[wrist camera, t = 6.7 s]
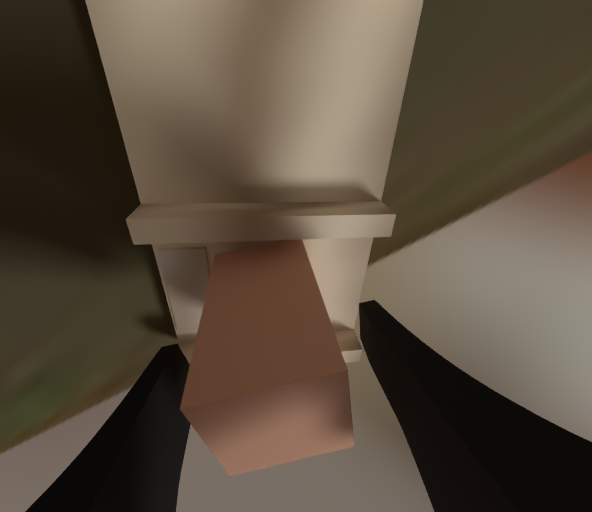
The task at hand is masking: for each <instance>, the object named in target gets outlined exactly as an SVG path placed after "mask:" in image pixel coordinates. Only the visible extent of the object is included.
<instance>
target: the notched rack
mask: <svg viewBox="0 0 592 512" xmlns="http://www.w3.org/2000/svg"><path fill="white" fill-rule="evenodd" d="M85 1H86V5H87V8H88V12H89V16H90V19H91V23H92V27H93V30H94V34H95V38H96V41H97V45H98V49H99V52H100V56H101V60H102V63H103V67H104V71H105V74H106V78H107V82H108V85H109V89H110V93H111V96H112V100H113V104H114V107H115V111H116V115H117V118H118V122H119V126H120V129H121V133H122V137H123V140H124V144H125V148H126V151H127V155H128V159H129V162H130V166H131V170H132V173H133V177H134V181H135V184H136V188H137V192H138V195H139V199H140V203H141V204H140V205H139V206H138V207H137V208H136V209H135V210H134V211H133V212H132V213H131V214H130V215H129V216H128V217H127V218H126V222H127V225H128V229H129V232H130V235H131V238H132V241H133V245H139V244H152V247H153V251H154V254H155V258H156V262H157V265H158V269H159V273H160V276H161V280H162V284H163V287H164V291H165V295H166V298H167V302H168V306H169V309H170V313H171V317H172V320H173V324H174V328H175V331H176V335H177V339H178V342H179V347H180V349H181V350H182V352H183V354H184V355H185V357H186V359H187V360H188V362H189V364H190V362H191V358H192V354H193V349H194V345H195V340H196V336H197V332H198V327H199V323H200V318H201V314H202V309H203V305H204V301H205V296H206V292H207V287H208V283H209V279H210V274H211V270H212V265H213V261H214V257H215V255H216V254H220V253H225V252H230V251H235V250H239V249H244V248H249V247H254V246H258V245H263V244H268V243H273V242H277V241H282V240H299V239H302V241H303V244H304V246H305V249H306V252H307V255H308V258H309V261H310V264H311V267H312V269H313V272H314V275H315V278H316V281H317V284H318V287H319V289H320V292H321V295H322V298H323V301H324V304H325V307H326V310H327V312H328V315H329V318H330V321H331V324H332V327H333V330H334V332H335V335H336V338H337V341H338V344H339V347H340V350H341V353H342V355H343V358H344V361H345V363H348V362H358V361H360V357H361V354H362V347H361V345H360V343H359V341H358V338H357V336H356V334H355V331H354V326H355V321H356V316H357V311H358V307H359V302H360V297H361V292H362V288H363V283H364V278H365V274H366V269H367V264H368V260H369V255H370V250H371V245H372V241H373V237H391V234H392V230H393V226H394V222H395V218H396V214H395V213H394V212H393V211H392V210H391V209H389V208H388V207H387V206H386V205H385V204H383V203H382V202H381V198H382V194H383V189H384V184H385V179H386V175H387V170H388V165H389V161H390V156H391V151H392V146H393V142H394V137H395V132H396V128H397V123H398V118H399V113H400V109H401V104H402V99H403V95H404V90H405V85H406V80H407V76H408V71H409V66H410V62H411V57H412V52H413V47H414V43H415V38H416V33H417V29H418V24H419V19H420V14H421V10H422V5H423V0H85Z"/></svg>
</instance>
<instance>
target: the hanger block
mask: <svg viewBox="0 0 592 512" xmlns="http://www.w3.org/2000/svg"><path fill="white" fill-rule="evenodd" d="M180 410H181V411H182V413H183V414H184V415H185V417H186V418H187V419H188V421H189V422H190V423H191V425H192V426H193V428H194V429H195V430H196V432H197V433H198V434H199V436H200V437H201V438H202V440H203V441H204V442H205V444H206V445H207V446H208V448H209V449H210V450H211V452H212V453H213V454H214V456H215V457H216V458H217V460H218V461H219V462H220V464H221V465H222V466H223V468H224V469H225V471H226V472H227V473H228V474H229V476H234V475H238V474H243V473H246V472H251V471H255V470H258V469H263V468H267V467H271V466H275V465H279V464H284V463H288V462H292V461H296V460H300V459H304V458H308V457H312V456H317V455H321V454H325V453H329V452H333V451H337V450H341V449H346V448H350V447H354V435H353V425H352V413H351V402H350V391H349V379H348V370H347V367H346V364H345V361H344V358H343V355H342V353H341V350H340V347H339V344H338V341H337V338H336V335H335V332H334V330H333V327H332V324H331V321H330V318H329V315H328V312H327V310H326V307H325V304H324V301H323V298H322V295H321V292H320V289H319V287H318V284H317V281H316V278H315V275H314V272H313V269H312V267H311V264H310V261H309V258H308V255H307V252H306V249H305V246H304V244H303V241H302V239H299V240H282V241H277V242H273V243H268V244H263V245H258V246H254V247H249V248H244V249H239V250H235V251H230V252H225V253H220V254H216V255H215V257H214V261H213V265H212V270H211V274H210V279H209V283H208V287H207V292H206V296H205V301H204V305H203V309H202V314H201V318H200V323H199V327H198V332H197V336H196V340H195V345H194V349H193V354H192V358H191V362H190V367H189V371H188V376H187V380H186V384H185V389H184V393H183V398H182V402H181V406H180Z"/></svg>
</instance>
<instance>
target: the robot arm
mask: <svg viewBox="0 0 592 512" xmlns="http://www.w3.org/2000/svg"><path fill="white" fill-rule="evenodd" d="M359 313H360V314H359V315H360V338H361V341H362V344H363V346H364V349H365V352H366V355H367V357H368V360H369V362H370V365H371V367H372V369H373V371H374V373H375V375H376V377H377V378H378V381H379V383H380V385H381V387H382V389H383V390H384V393H385V395H386V396H387V399H388V401H389V402H390V405H391V407H392V409H393V411H394V413H395V415H396V417H397V418H398V421H399V423H400V425H401V427H402V429H403V432H404V434H405V437H406V439H407V442H408V444H409V447H410V449H411V452H412V454H413V457H414V459H415V462H416V464H417V467H418V470H419V472H420V475H421V477H422V480H423V482H424V485H425V487H426V490H427V493H428V496H429V498H430V501H431V503H432V506H433V509H434V512H592V442H590V441H588V440H586V439H583V438H582V437H579V436H577V435H575V434H573V433H571V432H569V431H567V430H565V429H563V428H561V427H559V426H557V425H555V424H553V423H551V422H550V421H548V420H546V419H544V418H542V417H540V416H538V415H536V414H534V413H533V412H531V411H529V410H527V409H525V408H524V407H522V406H520V405H518V404H516V403H515V402H513V401H511V400H509V399H508V398H505V397H504V396H502V395H500V394H499V393H497V392H495V391H494V390H492V389H490V388H489V387H487V386H486V385H484V384H482V383H480V382H479V381H478V380H476V379H474V378H473V377H471V376H470V375H468V374H467V373H465V372H463V371H462V370H461V369H459V368H458V367H456V366H455V365H453V364H452V363H450V362H449V361H448V360H446V359H445V358H443V357H442V356H441V355H439V354H438V353H436V352H435V351H434V350H433V349H431V348H430V347H429V346H427V345H426V344H425V343H423V342H422V341H421V340H420V339H419V338H417V337H416V336H415V335H413V334H412V333H411V332H410V331H409V330H407V329H406V328H405V327H404V326H403V325H402V324H400V323H399V322H398V321H397V320H396V319H395V318H394V317H393V316H391V315H390V314H389V313H388V312H387V311H386V310H385V309H384V308H383V307H382V306H381V305H380V304H379V303H377V302H376V301H375V300H372V301H368V302H363V303H359ZM189 367H190V364H189V362H188V360H187V359H186V357H185V355H184V354H183V352H182V350H181V349H180V347H179V345H178V344H174V345H169V346H165V347H161V349H160V350H159V351H158V353H157V354H156V355H155V357H154V358H153V359H152V361H151V362H150V364H149V365H148V366H147V368H146V369H145V371H144V372H143V373H142V375H141V376H140V378H139V379H138V380H137V382H136V383H135V384H134V386H133V387H132V388H131V390H130V391H129V392H128V394H127V395H126V396H125V398H124V399H123V401H122V402H121V403H120V404H119V406H118V407H117V408H116V410H115V411H114V412H113V413H112V415H111V416H110V417H109V418H108V420H107V421H106V422H105V423H104V425H103V426H102V427H101V429H100V430H99V431H98V432H97V433H96V435H95V436H94V437H93V438H92V440H91V441H90V442H89V443H88V445H87V446H86V447H85V448H84V449H83V450H82V451H81V453H80V454H79V455H78V456H77V457H76V458H75V460H73V462H72V463H71V464H70V465H69V466H68V467H67V468H66V470H65V471H64V472H63V473H62V474H61V475H60V476H59V477H58V478H57V479H56V481H55V482H54V483H53V484H52V485H51V486H50V487H49V488H48V489H47V490H46V491H45V492H44V493H43V494H42V495H41V496H40V497H39V498H38V499H37V500H36V501H35V502H34V503H33V504H32V505H31V506H30V507H29V508H28V510H27V511H26V512H176V505H177V496H178V487H179V480H180V474H181V468H182V464H183V459H184V453H185V449H186V444H187V438H188V434H189V429H190V424H191V423H190V422H189V421H188V419H187V418H186V417H185V415H184V414H183V413H182V411H181V410H180V406H181V402H182V398H183V393H184V389H185V384H186V380H187V376H188V371H189Z"/></svg>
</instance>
